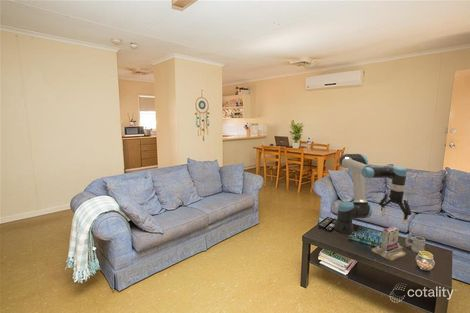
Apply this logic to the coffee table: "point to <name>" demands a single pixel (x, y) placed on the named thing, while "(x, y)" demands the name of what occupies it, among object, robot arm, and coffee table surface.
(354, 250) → the coffee table surface
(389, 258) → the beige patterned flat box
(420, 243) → the mug
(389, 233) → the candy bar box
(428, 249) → the coffee table surface
